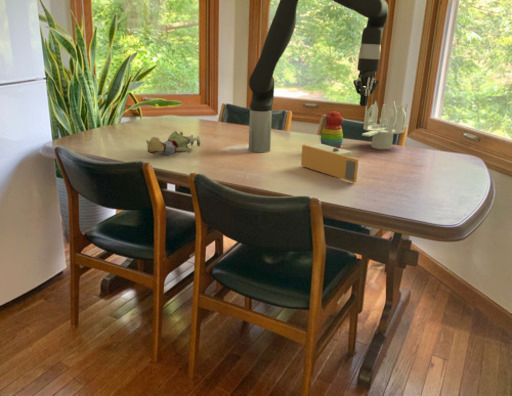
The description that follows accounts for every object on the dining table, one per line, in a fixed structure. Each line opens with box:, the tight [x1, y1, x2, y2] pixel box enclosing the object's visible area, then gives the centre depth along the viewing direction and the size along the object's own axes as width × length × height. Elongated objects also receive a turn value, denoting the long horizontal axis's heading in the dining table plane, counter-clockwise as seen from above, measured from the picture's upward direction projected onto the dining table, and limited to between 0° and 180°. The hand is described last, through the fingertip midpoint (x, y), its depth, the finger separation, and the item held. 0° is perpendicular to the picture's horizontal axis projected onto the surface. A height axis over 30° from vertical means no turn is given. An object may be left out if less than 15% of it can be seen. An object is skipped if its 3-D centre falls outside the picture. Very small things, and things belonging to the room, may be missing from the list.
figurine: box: [146, 130, 201, 156], centre depth 191 cm, size 25×8×30 cm
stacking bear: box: [320, 110, 345, 150], centre depth 197 cm, size 11×10×18 cm
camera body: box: [308, 142, 353, 173], centre depth 171 cm, size 17×8×9 cm, turn 38°
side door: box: [300, 144, 359, 183], centre depth 165 cm, size 26×2×8 cm, turn 38°
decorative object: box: [361, 100, 408, 150], centre depth 206 cm, size 18×29×20 cm, turn 143°
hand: (363, 105), depth 173 cm, fingers closed
